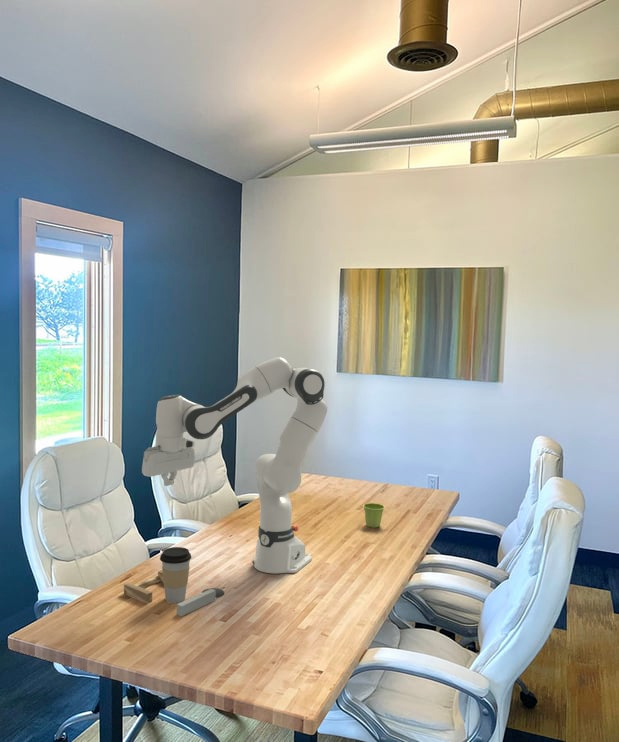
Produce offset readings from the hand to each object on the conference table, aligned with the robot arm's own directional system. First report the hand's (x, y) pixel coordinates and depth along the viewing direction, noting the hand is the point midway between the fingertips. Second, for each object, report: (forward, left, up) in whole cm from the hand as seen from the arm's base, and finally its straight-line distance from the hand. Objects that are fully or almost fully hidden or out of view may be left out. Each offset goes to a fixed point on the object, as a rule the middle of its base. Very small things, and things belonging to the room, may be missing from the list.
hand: (168, 485), depth 206 cm
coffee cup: (+10, +15, -31) cm, 36 cm away
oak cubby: (+10, +5, -31) cm, 33 cm away
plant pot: (-94, +26, -31) cm, 102 cm away
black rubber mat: (0, +21, -31) cm, 37 cm away
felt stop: (+10, +24, -31) cm, 40 cm away
